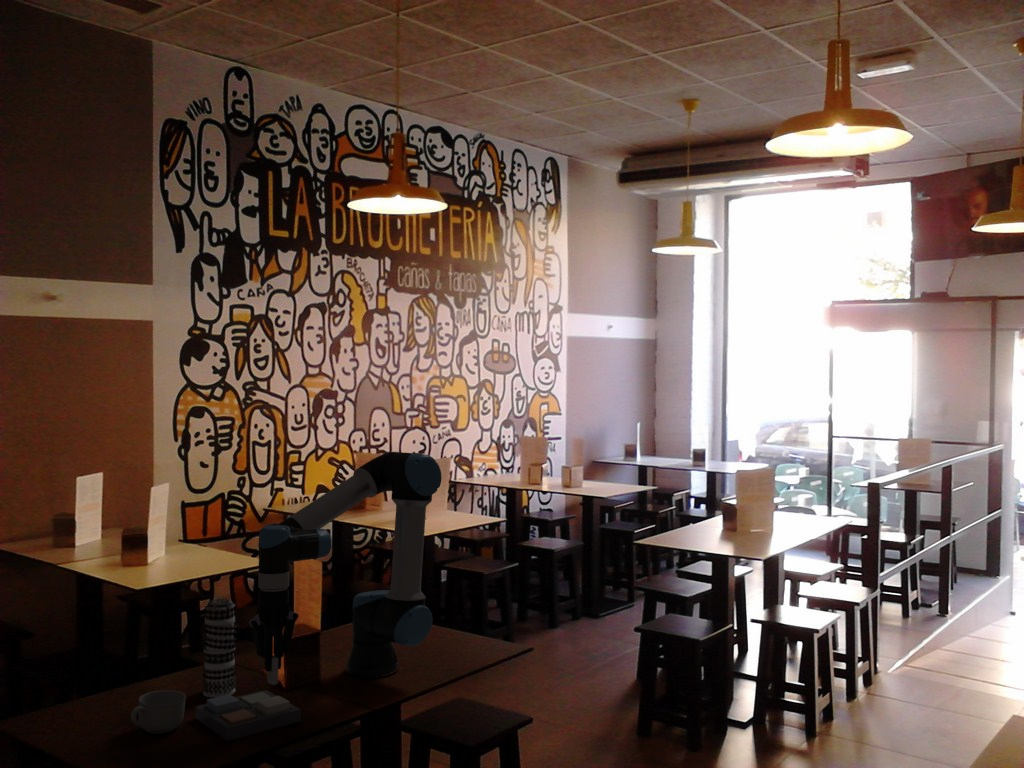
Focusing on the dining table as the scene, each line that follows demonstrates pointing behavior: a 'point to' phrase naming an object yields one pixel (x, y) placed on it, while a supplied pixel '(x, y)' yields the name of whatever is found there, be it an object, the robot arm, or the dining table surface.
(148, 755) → the dining table surface
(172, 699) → the teacup
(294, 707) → the keypad frame
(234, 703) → the blue key
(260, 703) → the cream key
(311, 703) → the dining table surface
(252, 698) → the sage key
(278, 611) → the robot arm
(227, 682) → the decorative candle
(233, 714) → the terracotta key
